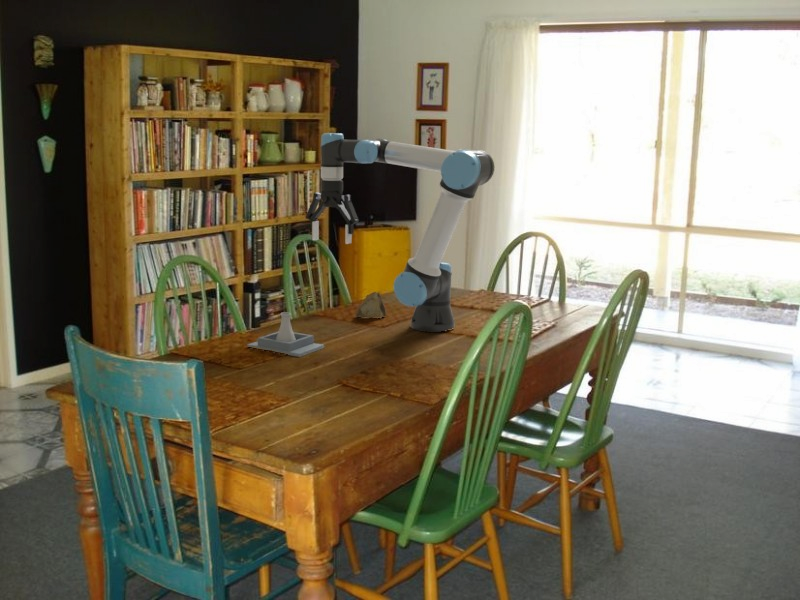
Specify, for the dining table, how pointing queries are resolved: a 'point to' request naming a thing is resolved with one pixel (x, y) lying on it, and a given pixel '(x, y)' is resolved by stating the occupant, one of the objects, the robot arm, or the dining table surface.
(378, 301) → the rock
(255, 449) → the dining table surface
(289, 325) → the flask
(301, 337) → the caddy board
